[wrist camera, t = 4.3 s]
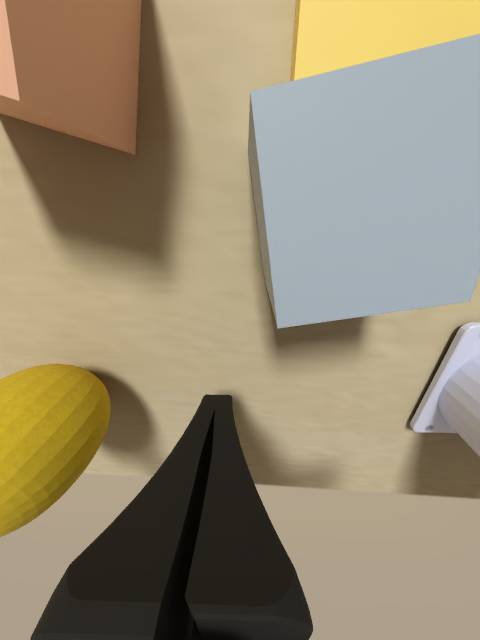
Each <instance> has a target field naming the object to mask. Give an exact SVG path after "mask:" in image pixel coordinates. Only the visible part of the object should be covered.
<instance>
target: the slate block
mask: <svg viewBox="0 0 480 640" xmlns="http://www.w3.org/2000/svg"><path fill="white" fill-rule="evenodd" d="M248 155H249V163H250V171H251V178H252V186H253V194H254V201H255V209H256V217H257V224H258V232H259V240H260V247H261V255H262V263H263V271H264V278H265V282H266V286H267V290H268V294H269V298H270V301H271V305H272V309H273V313H274V317H275V321H276V325H277V328H285V327H292V326H299V325H306V324H313V323H321V322H328V321H335V320H342V319H349V318H356V317H363V316H370V315H377V314H385V313H392V312H399V311H406V310H413V309H420V308H427V307H434V306H441V305H448V304H456V303H463V302H470V301H471V298H472V295H473V292H474V288H475V285H476V282H477V279H478V276H479V273H480V34H476V35H472V36H468V37H464V38H460V39H456V40H452V41H449V42H445V43H441V44H437V45H433V46H429V47H425V48H421V49H417V50H413V51H409V52H405V53H401V54H397V55H393V56H389V57H385V58H381V59H377V60H373V61H369V62H365V63H361V64H357V65H353V66H349V67H345V68H341V69H337V70H333V71H330V72H326V73H322V74H318V75H314V76H310V77H306V78H302V79H298V80H294V81H290V82H286V83H282V84H278V85H274V86H270V87H266V88H262V89H258V90H254V91H250V112H249V139H248Z"/></svg>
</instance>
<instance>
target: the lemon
mask: <svg viewBox="0 0 480 640" xmlns="http://www.w3.org/2000/svg"><path fill="white" fill-rule="evenodd" d="M110 413H111V402H110V398H109V395H108V392H107V389H106V388H105V386H104V385H103V383H102V382H101V381H100V380H99V379H98V378H97V377H96V376H95V375H94V374H93V373H91V372H89V371H87V370H85V369H82V368H80V367H76V366H73V365H64V364H49V365H41V366H35V367H31V368H28V369H25V370H22V371H19V372H17V373H14V374H12V375H10V376H7V377H5V378H3V379H1V380H0V537H1V536H4V535H6V534H8V533H10V532H12V531H15V530H17V529H18V528H20V527H22V526H24V525H26V524H27V523H29V522H31V521H32V520H33V519H35V518H36V517H37V516H39V515H40V514H41V513H43V512H44V511H45V510H47V509H48V508H49V507H50V506H51V505H53V504H54V503H55V502H56V501H57V500H58V499H59V498H60V497H61V496H62V495H63V494H64V493H65V492H66V491H67V490H68V489H69V488H70V487H71V486H72V484H73V483H74V482H75V481H76V480H77V479H78V477H79V476H80V475H81V474H82V473H83V471H84V470H85V469H86V467H87V466H88V465H89V463H90V462H91V460H92V459H93V457H94V455H95V454H96V452H97V450H98V448H99V446H100V444H101V442H102V440H103V438H104V436H105V434H106V431H107V429H108V425H109V421H110Z"/></svg>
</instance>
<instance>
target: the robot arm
mask: <svg viewBox="0 0 480 640" xmlns="http://www.w3.org/2000/svg"><path fill="white" fill-rule="evenodd" d="M410 426H411V428H412V429H413V430H414V431H415V432H423V433H458V434H459V435H460V437H461V438H462V439H463V440H464V441H465V442H466V443H467V444H468V445H469V446H470V447H471V448H472V449H473V450H474V452H475V453H476V454H477V455H478V456H479V457H480V322H471V323H467V324H465V325H463V326H462V327H460V329H459V330H458V332H457V334H456V336H455V338H454V340H453V342H452V343H451V345H450V347H449V349H448V351H447V353H446V355H445V357H444V359H443V361H442V363H441V365H440V367H439V368H438V370H437V372H436V374H435V376H434V378H433V380H432V382H431V384H430V386H429V388H428V390H427V392H426V393H425V395H424V397H423V399H422V401H421V403H420V405H419V407H418V409H417V411H416V413H415V415H414V417H413V418H412V420H411V422H410ZM312 632H313V624H312V620H311V616H310V611H309V608H308V604H307V602H306V598H305V596H304V593H303V590H302V587H301V585H300V582H299V579H298V576H297V573H296V571H295V568H294V566H293V564H292V562H291V560H290V558H289V557H288V555H287V553H286V551H285V549H284V547H283V545H282V543H281V541H280V539H279V537H278V535H277V533H276V531H275V529H274V527H273V525H272V523H271V521H270V519H269V517H268V514H267V512H266V510H265V508H264V506H263V503H262V501H261V499H260V496H259V494H258V492H257V490H256V487H255V485H254V482H253V480H252V477H251V474H250V472H249V469H248V466H247V464H246V461H245V458H244V455H243V452H242V448H241V445H240V442H239V438H238V434H237V430H236V426H235V422H234V416H233V409H232V396H230V395H205V396H204V397H203V399H202V401H201V403H200V405H199V407H198V409H197V411H196V413H195V415H194V417H193V419H192V420H191V422H190V424H189V425H188V427H187V429H186V430H185V432H184V434H183V435H182V437H181V438H180V440H179V441H178V443H177V444H176V446H175V447H174V449H173V450H172V452H171V453H170V455H169V456H168V457H167V459H166V460H165V461H164V463H163V464H162V465H161V467H160V468H159V469H158V471H157V472H156V473H155V474H154V476H153V477H152V478H151V479H150V481H149V482H148V483H147V484H146V485H145V487H144V488H143V489H142V490H141V492H140V493H139V494H138V495H137V496H136V497H135V498H134V499H133V501H132V502H131V503H130V504H129V505H128V506H127V507H126V508H125V509H124V510H123V511H122V512H121V514H120V515H119V516H118V517H117V518H116V519H115V520H114V521H113V522H112V523H111V524H110V526H108V528H107V529H105V531H104V532H103V533H101V534H100V535H99V537H97V538H96V539H95V540H94V542H92V543H91V544H90V545H89V546H88V547H87V548H86V549H85V550H84V551H83V552H82V553H81V554H80V555H79V556H78V557H77V558H76V559H75V560H74V561H73V562H72V563H71V564H70V565H69V567H68V568H67V570H66V572H65V574H64V575H63V577H62V579H61V580H60V582H59V584H58V585H57V587H56V589H55V591H54V592H53V594H52V596H51V598H50V600H49V602H48V604H47V606H46V608H45V610H44V612H43V614H42V616H41V618H40V620H39V622H38V624H37V626H36V628H35V630H34V632H33V634H32V636H31V640H309V638H310V636H311V634H312Z"/></svg>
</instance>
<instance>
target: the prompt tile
mask: <svg viewBox="0 0 480 640" xmlns="http://www.w3.org/2000/svg"><path fill="white" fill-rule="evenodd" d="M476 34H480V0H296V13H295V27H294V40H293V53H292V67H291V80H290V81H294V80H298V79H302V78H306V77H310V76H314V75H318V74H322V73H326V72H330V71H333V70H337V69H341V68H345V67H349V66H353V65H357V64H361V63H365V62H369V61H373V60H377V59H381V58H385V57H389V56H393V55H397V54H401V53H405V52H409V51H413V50H417V49H421V48H425V47H429V46H433V45H437V44H441V43H445V42H449V41H452V40H456V39H460V38H464V37H468V36H472V35H476Z"/></svg>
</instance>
